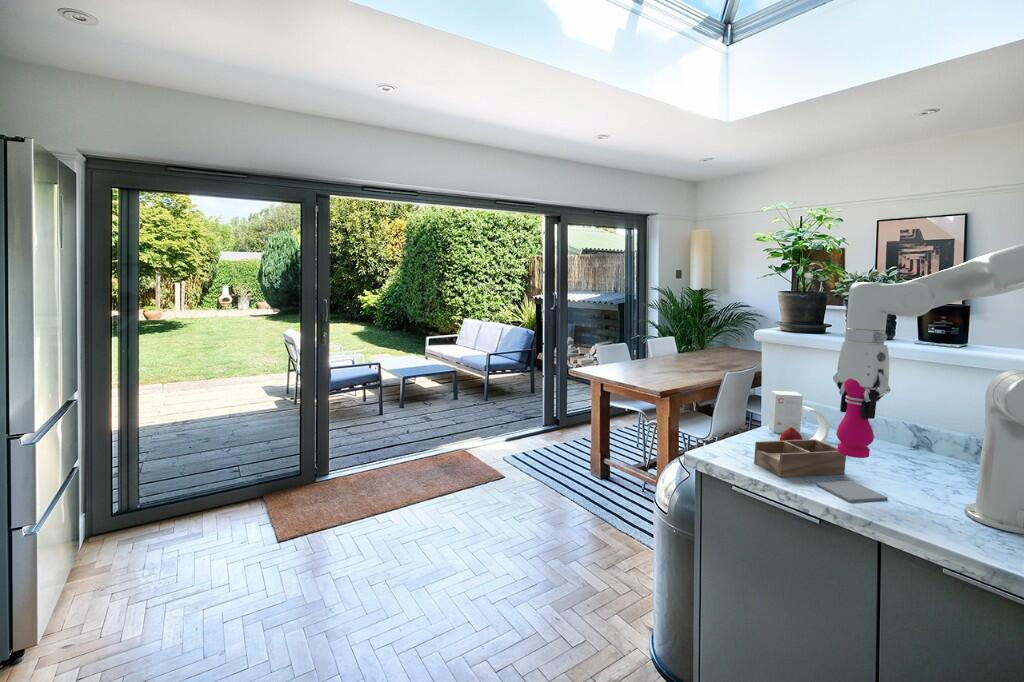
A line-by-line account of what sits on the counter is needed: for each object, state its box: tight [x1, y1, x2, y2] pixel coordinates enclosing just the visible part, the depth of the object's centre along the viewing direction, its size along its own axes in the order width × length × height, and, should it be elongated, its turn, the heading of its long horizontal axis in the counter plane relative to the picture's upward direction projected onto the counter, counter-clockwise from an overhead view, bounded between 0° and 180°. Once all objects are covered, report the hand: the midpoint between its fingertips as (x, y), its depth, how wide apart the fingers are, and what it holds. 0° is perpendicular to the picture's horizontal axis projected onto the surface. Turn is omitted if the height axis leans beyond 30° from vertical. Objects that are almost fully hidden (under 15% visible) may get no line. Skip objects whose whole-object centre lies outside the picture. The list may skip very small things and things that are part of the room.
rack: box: [753, 438, 847, 478], centre depth 137 cm, size 11×18×6 cm, turn 100°
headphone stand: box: [802, 405, 830, 443], centre depth 156 cm, size 5×6×12 cm
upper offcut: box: [767, 453, 780, 460], centre depth 136 cm, size 7×5×2 cm
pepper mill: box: [835, 379, 874, 459], centre depth 120 cm, size 7×7×20 cm
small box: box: [768, 390, 804, 435], centre depth 172 cm, size 8×6×13 cm
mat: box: [815, 480, 889, 503], centre depth 122 cm, size 10×10×1 cm
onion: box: [779, 426, 803, 441], centre depth 150 cm, size 6×6×8 cm
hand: (857, 414), depth 120 cm, fingers closed on pepper mill, 5 cm apart
